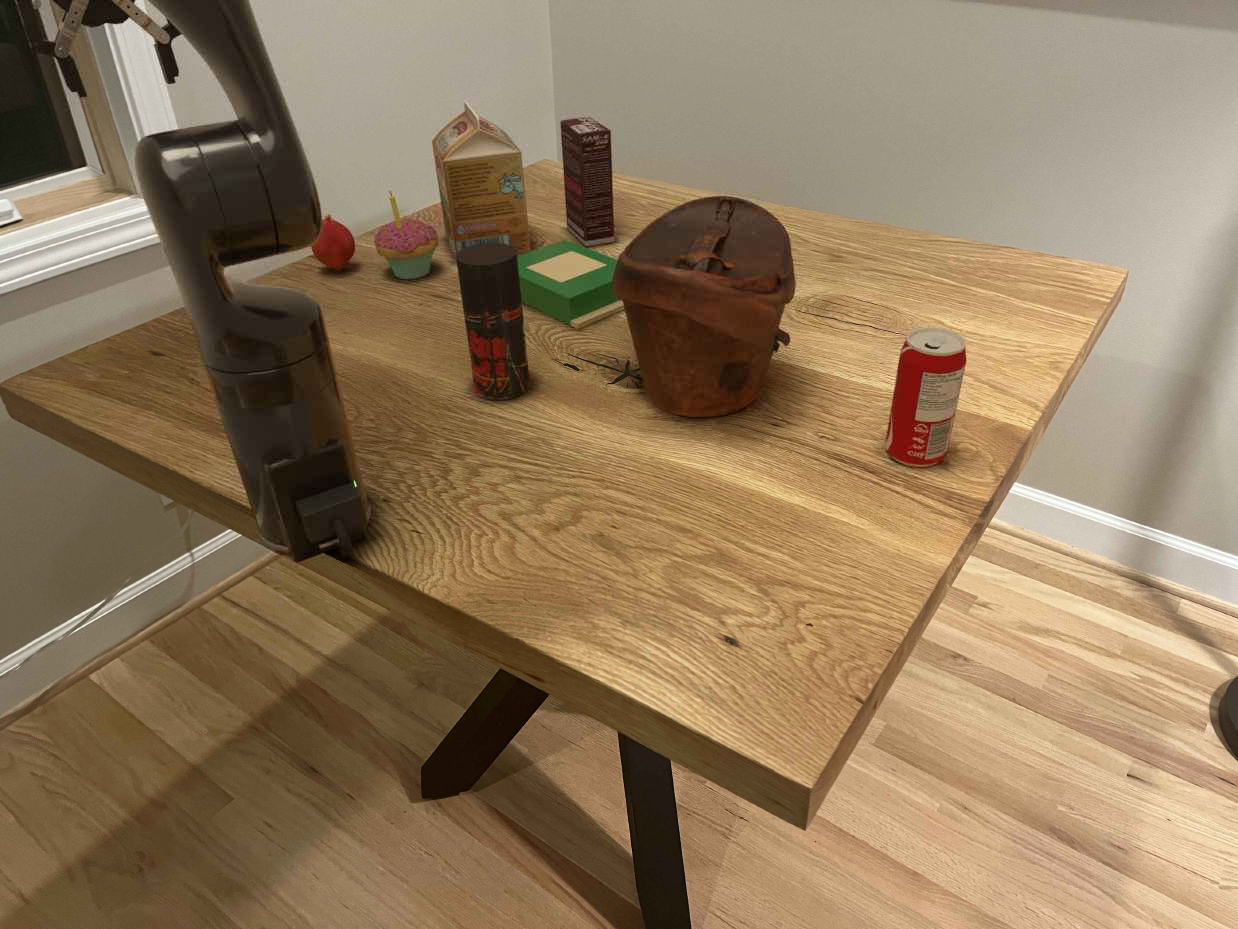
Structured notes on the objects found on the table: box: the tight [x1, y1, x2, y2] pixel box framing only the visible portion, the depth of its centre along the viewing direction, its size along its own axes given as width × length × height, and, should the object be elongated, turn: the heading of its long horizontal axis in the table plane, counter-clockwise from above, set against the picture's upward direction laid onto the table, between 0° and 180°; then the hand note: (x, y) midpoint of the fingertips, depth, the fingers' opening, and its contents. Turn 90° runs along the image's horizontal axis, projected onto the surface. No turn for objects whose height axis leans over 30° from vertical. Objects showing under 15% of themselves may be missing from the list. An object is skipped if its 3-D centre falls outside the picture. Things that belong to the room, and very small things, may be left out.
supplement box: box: [559, 116, 615, 247], centre depth 129 cm, size 9×5×16 cm, turn 22°
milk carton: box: [431, 100, 532, 260], centre depth 126 cm, size 11×11×19 cm
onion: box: [310, 213, 356, 272], centre depth 123 cm, size 6×6×8 cm
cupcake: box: [374, 190, 440, 280], centre depth 121 cm, size 9×8×12 cm
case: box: [612, 195, 797, 418], centre depth 90 cm, size 18×20×18 cm
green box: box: [517, 239, 625, 330], centre depth 116 cm, size 18×12×4 cm
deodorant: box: [455, 243, 531, 402], centre depth 93 cm, size 6×6×15 cm
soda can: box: [884, 326, 967, 468], centre depth 81 cm, size 6×6×12 cm
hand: (127, 89), depth 93 cm, fingers open, 8 cm apart
